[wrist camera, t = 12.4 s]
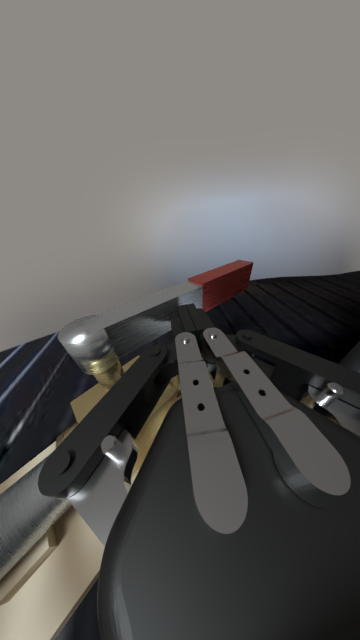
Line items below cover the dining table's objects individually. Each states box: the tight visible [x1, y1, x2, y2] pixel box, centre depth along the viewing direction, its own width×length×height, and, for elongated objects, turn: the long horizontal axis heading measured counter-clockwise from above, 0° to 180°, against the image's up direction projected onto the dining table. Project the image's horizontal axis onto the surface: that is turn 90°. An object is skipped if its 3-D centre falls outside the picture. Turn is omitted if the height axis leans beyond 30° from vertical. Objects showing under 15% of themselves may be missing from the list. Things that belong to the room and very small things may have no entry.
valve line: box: [0, 353, 202, 580], centre depth 15 cm, size 30×7×13 cm, turn 136°
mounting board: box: [0, 381, 213, 640], centre depth 19 cm, size 30×12×3 cm, turn 136°
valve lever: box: [58, 260, 253, 374], centre depth 14 cm, size 20×3×3 cm, turn 130°
